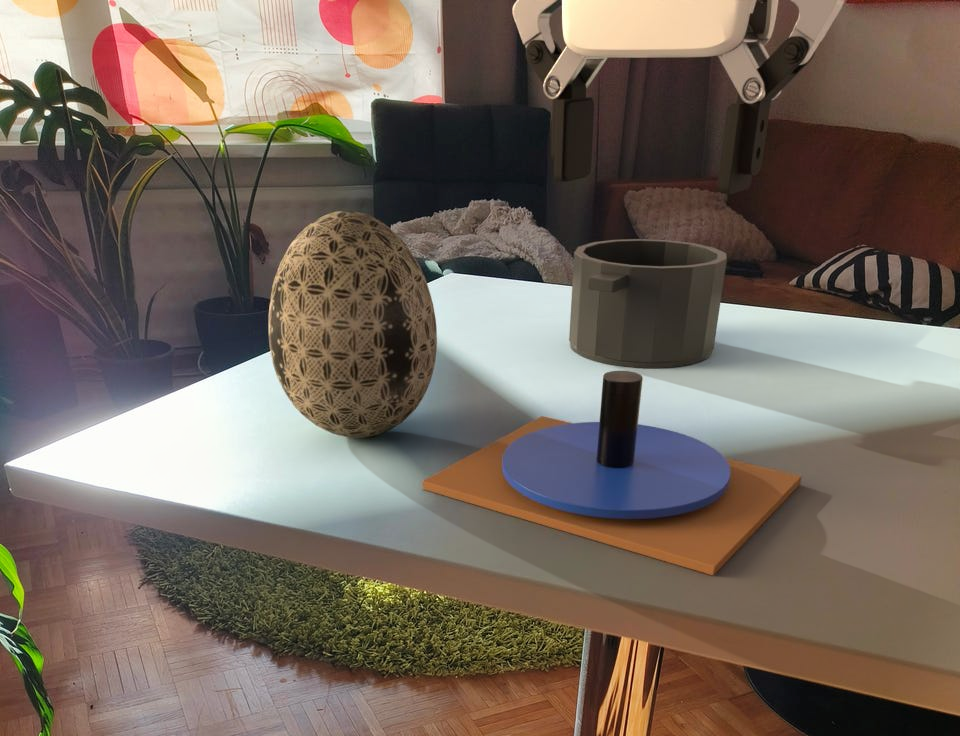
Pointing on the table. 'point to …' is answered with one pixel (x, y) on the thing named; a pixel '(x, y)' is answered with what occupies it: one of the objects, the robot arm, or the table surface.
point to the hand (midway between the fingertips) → (649, 184)
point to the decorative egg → (352, 326)
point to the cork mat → (673, 539)
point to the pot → (646, 302)
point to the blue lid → (616, 463)
